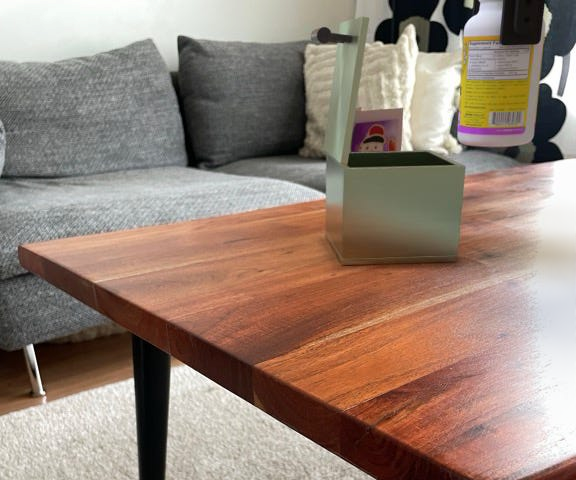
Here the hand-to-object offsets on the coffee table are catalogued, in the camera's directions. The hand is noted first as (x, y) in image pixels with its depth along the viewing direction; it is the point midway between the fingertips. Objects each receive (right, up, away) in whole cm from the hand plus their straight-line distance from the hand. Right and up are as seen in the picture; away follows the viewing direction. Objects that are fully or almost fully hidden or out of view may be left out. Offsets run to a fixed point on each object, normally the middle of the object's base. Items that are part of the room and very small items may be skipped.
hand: (503, 43), depth 61 cm
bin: (-6, -12, +29) cm, 32 cm away
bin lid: (-12, +4, +21) cm, 24 cm away
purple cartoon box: (-8, -4, +48) cm, 49 cm away
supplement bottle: (0, -8, +4) cm, 8 cm away
